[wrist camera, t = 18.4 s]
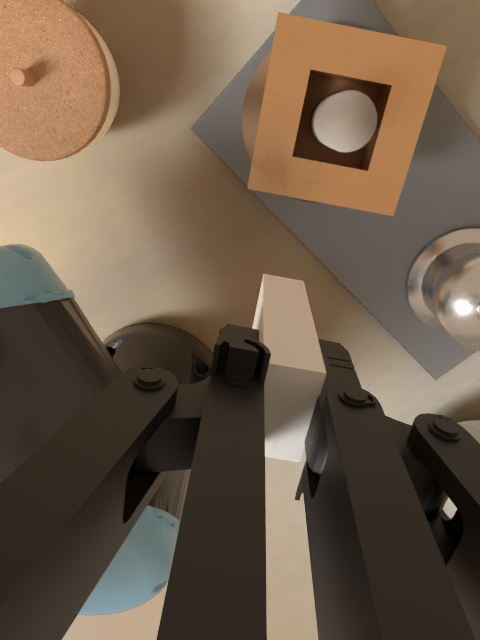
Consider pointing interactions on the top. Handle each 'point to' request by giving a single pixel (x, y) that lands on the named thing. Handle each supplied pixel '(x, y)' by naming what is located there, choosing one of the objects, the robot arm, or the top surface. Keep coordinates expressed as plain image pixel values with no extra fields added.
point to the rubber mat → (362, 226)
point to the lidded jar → (53, 80)
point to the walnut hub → (320, 118)
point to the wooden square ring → (350, 66)
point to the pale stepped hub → (448, 285)
